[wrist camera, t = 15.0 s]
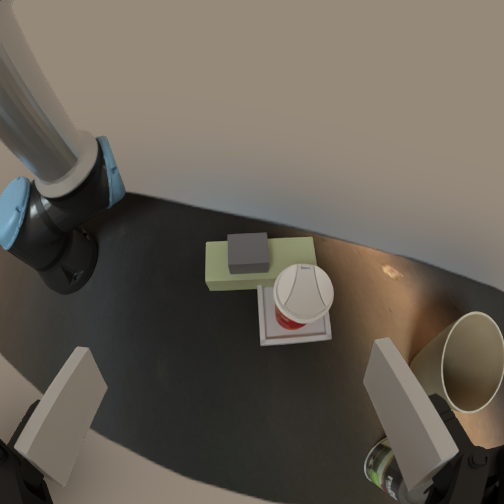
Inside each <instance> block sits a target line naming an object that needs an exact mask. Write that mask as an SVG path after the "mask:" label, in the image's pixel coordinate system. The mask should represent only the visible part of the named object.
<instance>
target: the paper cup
mask: <svg viewBox="0 0 504 504" xmlns="http://www.w3.org/2000/svg"><path fill="white" fill-rule="evenodd" d="M273 296H274V300H275V316H276V320H277V322H278V323H279V325H280V326H282V327H283V328H285V329H288V330H296V329H299V328H301V327H303V326H305V325H306V324H308V323H312V322H314V321H316V320H318V319H319V318H321V317H322V316H324V315H325V314H326V313H327V312H328V310H329V309H330V307H331V305H332V302H333V298H334V290H333V285H332V283H331V280H330V278H329V277H328V275H327V274H326V273H325V272H324V271H323V270H322V269H321V268H319V267H317V266H315V265H310V264H295V265H292V266H289V267H287V268H286V269H284V270H283V271H282V272H281V273H280V274H279V276H278V277H277V279H276V281H275V284H274V288H273Z"/></svg>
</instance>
